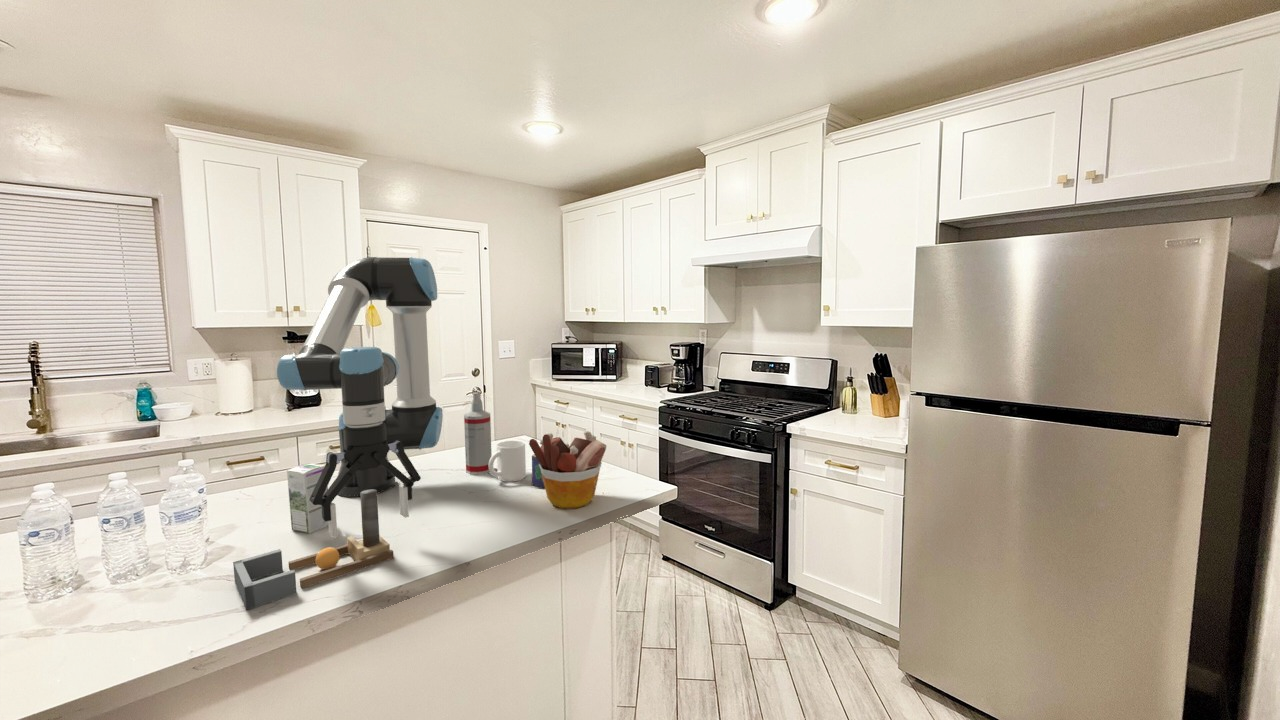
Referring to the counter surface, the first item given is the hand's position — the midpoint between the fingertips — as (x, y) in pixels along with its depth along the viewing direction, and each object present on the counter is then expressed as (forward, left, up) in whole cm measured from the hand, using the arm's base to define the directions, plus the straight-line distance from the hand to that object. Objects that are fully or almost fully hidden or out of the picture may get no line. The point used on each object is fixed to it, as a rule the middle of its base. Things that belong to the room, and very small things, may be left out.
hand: (370, 525), depth 105 cm
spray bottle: (-35, +42, -6) cm, 55 cm away
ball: (0, -8, -4) cm, 9 cm away
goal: (0, -17, -6) cm, 19 cm away
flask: (-8, +49, -7) cm, 50 cm away
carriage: (0, 0, -6) cm, 6 cm away
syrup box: (-24, -5, -7) cm, 25 cm away
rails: (0, -5, -6) cm, 8 cm away
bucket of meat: (+6, +47, -7) cm, 47 cm away
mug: (-22, +45, -7) cm, 50 cm away
